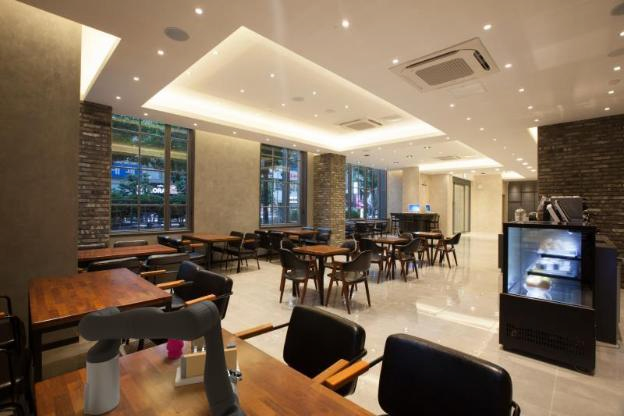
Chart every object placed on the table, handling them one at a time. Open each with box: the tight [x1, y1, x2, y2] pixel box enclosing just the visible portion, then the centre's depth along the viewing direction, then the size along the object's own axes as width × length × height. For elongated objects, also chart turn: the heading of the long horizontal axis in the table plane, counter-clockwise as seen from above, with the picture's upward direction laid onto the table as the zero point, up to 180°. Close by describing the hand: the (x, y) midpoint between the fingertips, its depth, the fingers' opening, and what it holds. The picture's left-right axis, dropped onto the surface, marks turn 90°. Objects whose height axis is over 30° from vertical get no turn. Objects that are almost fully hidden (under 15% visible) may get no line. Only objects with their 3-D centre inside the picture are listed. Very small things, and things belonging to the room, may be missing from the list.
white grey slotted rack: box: [174, 341, 241, 387], centre depth 123 cm, size 24×11×10 cm, turn 110°
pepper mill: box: [166, 339, 185, 359], centre depth 137 cm, size 7×7×20 cm
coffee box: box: [190, 336, 206, 354], centre depth 136 cm, size 9×6×16 cm
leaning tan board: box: [179, 346, 238, 378], centre depth 121 cm, size 21×3×8 cm, turn 110°
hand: (222, 366), depth 116 cm, fingers closed
